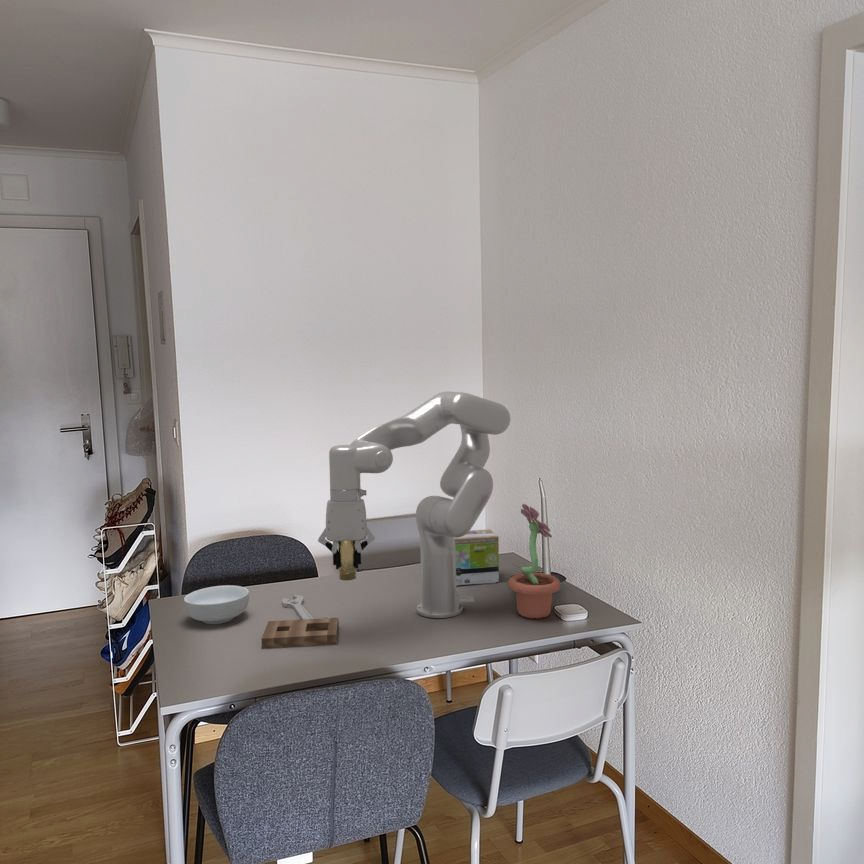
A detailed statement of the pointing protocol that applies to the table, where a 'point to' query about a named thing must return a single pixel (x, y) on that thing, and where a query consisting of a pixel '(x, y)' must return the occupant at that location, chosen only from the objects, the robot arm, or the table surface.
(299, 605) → the adjustable wrench
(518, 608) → the decorative flower
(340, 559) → the brass peg
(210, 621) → the cereal bowl
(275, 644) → the socket board
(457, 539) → the tea box
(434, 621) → the table surface
